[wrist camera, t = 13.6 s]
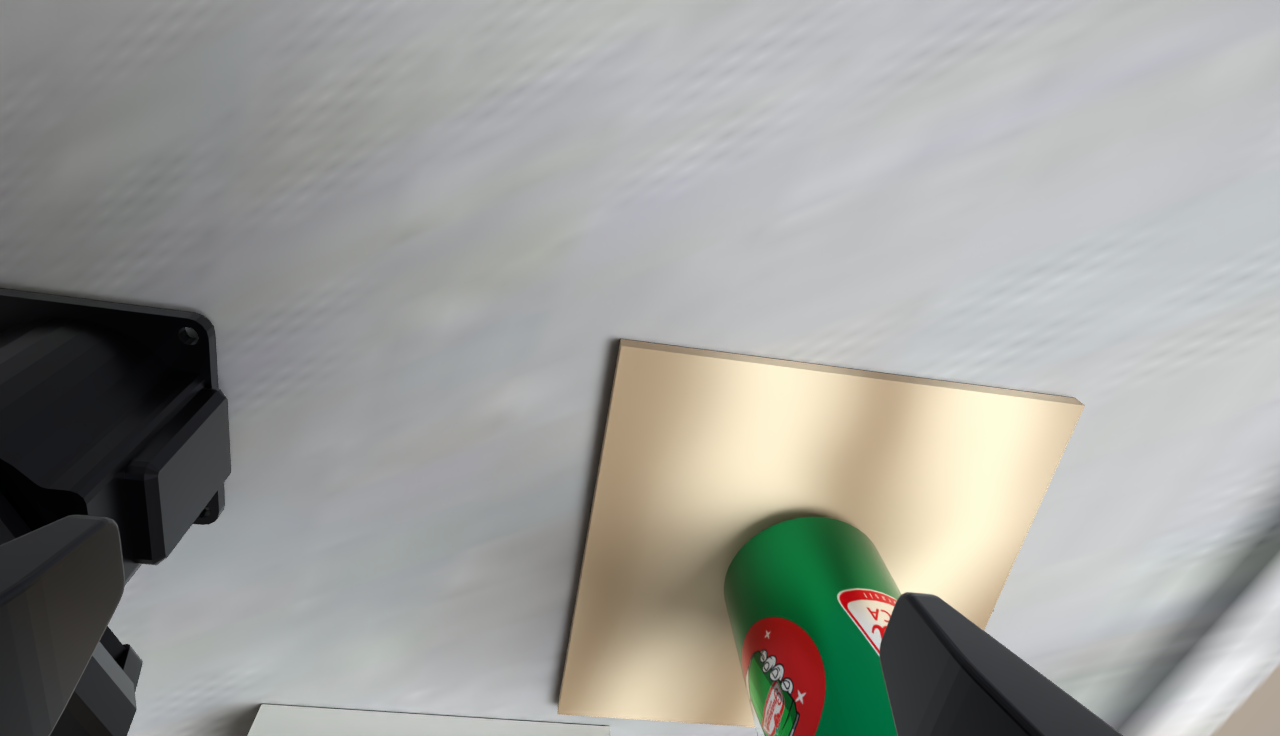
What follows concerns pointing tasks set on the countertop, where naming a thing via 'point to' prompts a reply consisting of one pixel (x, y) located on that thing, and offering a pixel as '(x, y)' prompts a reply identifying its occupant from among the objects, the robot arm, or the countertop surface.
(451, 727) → the socket collar
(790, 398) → the board
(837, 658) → the soda can
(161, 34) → the countertop surface
